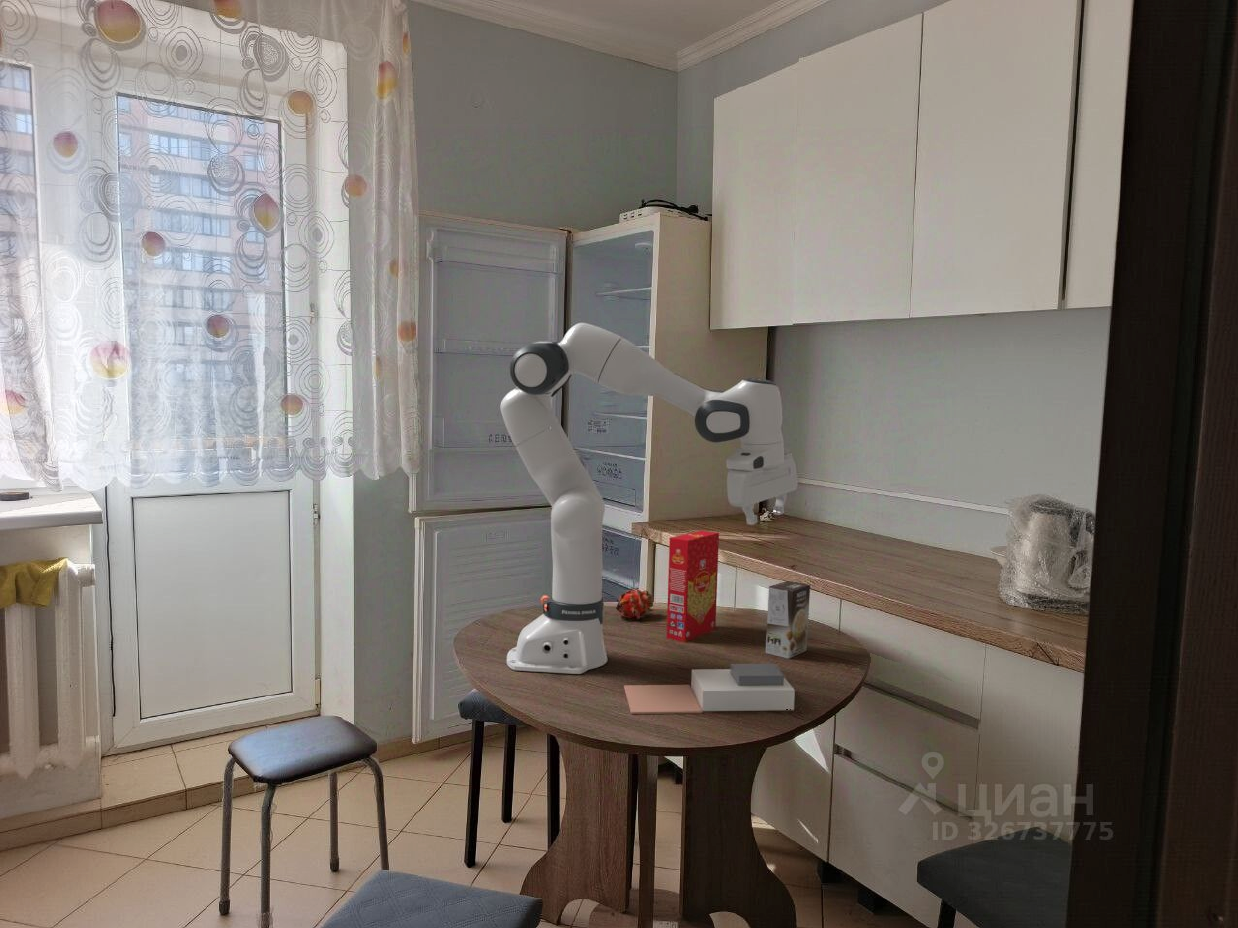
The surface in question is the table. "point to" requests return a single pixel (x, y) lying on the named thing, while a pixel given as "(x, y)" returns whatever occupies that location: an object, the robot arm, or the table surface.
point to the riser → (737, 693)
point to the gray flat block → (757, 675)
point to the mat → (661, 699)
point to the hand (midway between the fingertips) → (765, 519)
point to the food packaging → (692, 585)
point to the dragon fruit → (634, 604)
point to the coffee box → (787, 619)
